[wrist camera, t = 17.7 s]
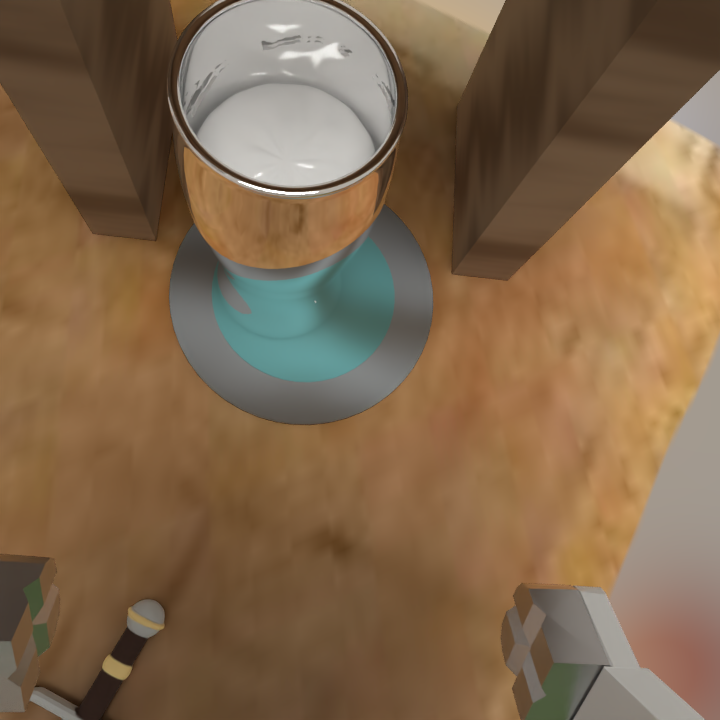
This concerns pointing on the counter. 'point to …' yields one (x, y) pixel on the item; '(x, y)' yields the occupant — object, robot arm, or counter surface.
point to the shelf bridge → (389, 235)
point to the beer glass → (284, 149)
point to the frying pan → (109, 666)
